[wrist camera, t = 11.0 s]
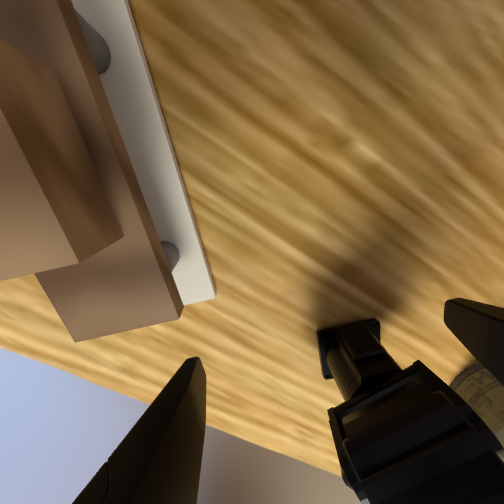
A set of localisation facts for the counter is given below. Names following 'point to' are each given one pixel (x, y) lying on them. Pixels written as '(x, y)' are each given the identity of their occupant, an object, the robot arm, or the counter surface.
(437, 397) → the robot arm
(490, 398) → the thermos
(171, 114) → the counter surface
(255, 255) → the counter surface
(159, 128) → the peg stand
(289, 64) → the counter surface
